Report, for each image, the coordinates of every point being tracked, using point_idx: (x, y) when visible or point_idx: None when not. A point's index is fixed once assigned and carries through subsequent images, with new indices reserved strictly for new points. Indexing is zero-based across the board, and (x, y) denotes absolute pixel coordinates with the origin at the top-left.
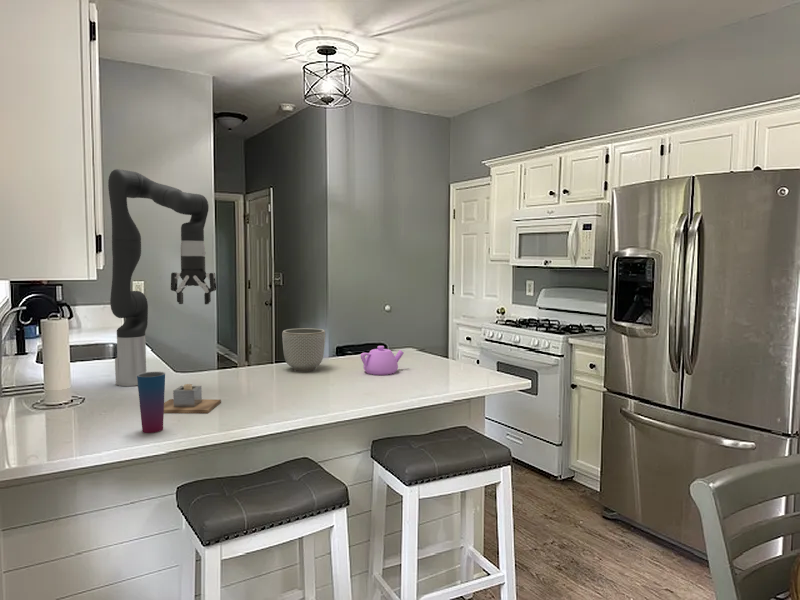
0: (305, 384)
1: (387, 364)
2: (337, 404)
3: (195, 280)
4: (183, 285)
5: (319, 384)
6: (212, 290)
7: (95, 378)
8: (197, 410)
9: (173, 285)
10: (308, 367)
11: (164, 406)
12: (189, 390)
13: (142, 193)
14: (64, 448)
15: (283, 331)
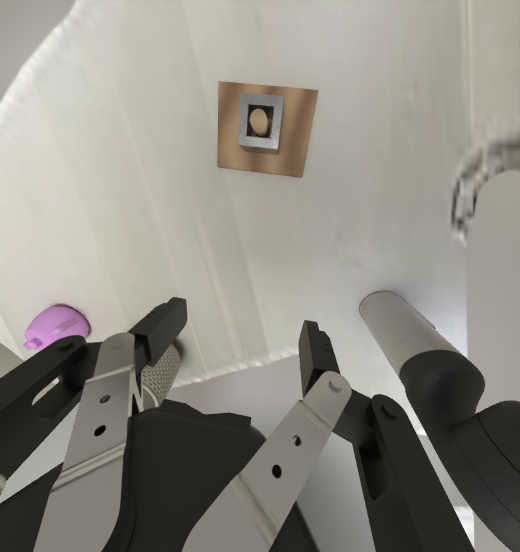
0: (136, 271)
1: (41, 313)
2: (46, 142)
3: (120, 453)
4: (288, 416)
5: (118, 268)
6: (73, 338)
7: None
8: (237, 83)
9: (396, 446)
10: None
11: (301, 116)
12: (250, 95)
13: None
14: None
15: (154, 397)
